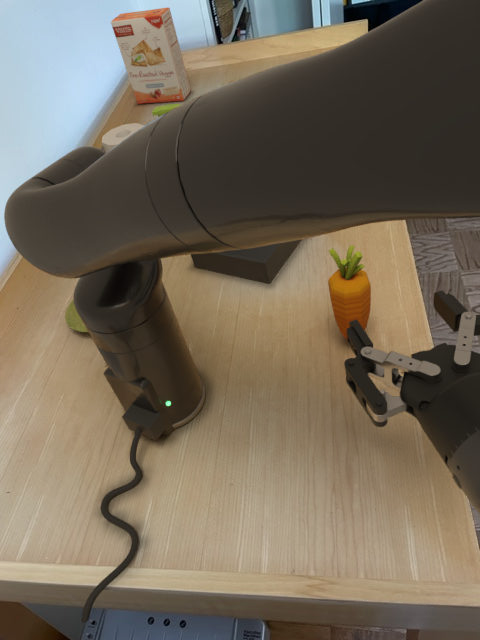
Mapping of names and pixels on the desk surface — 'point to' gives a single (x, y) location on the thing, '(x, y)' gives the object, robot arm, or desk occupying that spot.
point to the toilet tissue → (118, 135)
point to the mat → (74, 318)
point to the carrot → (349, 291)
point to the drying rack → (248, 261)
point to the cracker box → (152, 55)
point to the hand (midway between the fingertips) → (394, 312)
